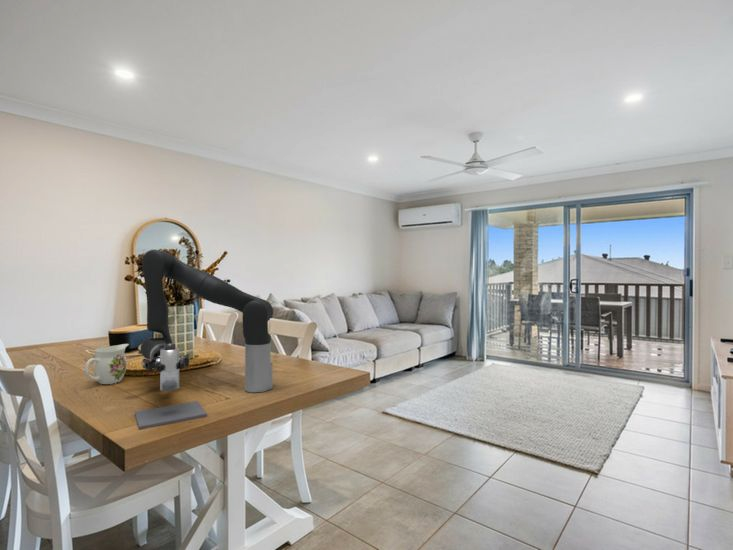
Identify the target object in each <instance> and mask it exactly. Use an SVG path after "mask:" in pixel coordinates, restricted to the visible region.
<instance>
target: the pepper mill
mask: <svg viewBox="0 0 733 550" xmlns="http://www.w3.org/2000/svg"><path fill="white" fill-rule="evenodd" d="M179 356H180V348H179V347H176V343H175V342H172V343H167V344H164V349H161V350H160V363H161V365H162V372H159V373H160V374H159V375H160V376H159V377H160V378H159V379H160V380H159V383H160V384H159V390H160V391H162V392H171V391H175V390H178V389H180V369H179Z"/></svg>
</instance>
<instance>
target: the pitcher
mask: <svg viewBox="0 0 733 550" xmlns="http://www.w3.org/2000/svg"><path fill="white" fill-rule="evenodd" d="M129 345H130V344H129V343H122V344H117V345H110V346H104V347H99V348H97V349H96V348H95V349H94V350H93V352H94V356H95V357H93V358H92V357H91V358H89V359H88V360H87V361H86V363H85V365H84V374H85V376H86V378H87V379H89V380H91V381H97V382H98V383H99V384H100V385H102V384H110V385H114V384H113V383H115V384H118V383H120V382H121V381H122V379H123V378H124V376H125V374H126V370H127V365H128V364H127V361H128V360H127V358H126V354H125V352H126V348H127V347H128V346H129ZM92 363H93V366H92V367H93V374H94V376H93V375H91V374H90V366H91V364H92ZM117 382H118V383H117Z"/></svg>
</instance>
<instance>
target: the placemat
mask: <svg viewBox="0 0 733 550" xmlns="http://www.w3.org/2000/svg"><path fill="white" fill-rule="evenodd" d="M134 415H135V420H136V422H137V426H138V430H143V429H149V428H148V427H150V428H154V427H159V426H164V425H169V424H174V423H180V422H184V421H190V420H195V419H199V418H205V417H208V412H207V411H205V409H204V408H203V406H202V405H201V404H200V403H199V400H194V401H189V402H183V403H177V404H172V405H165V406H161V407H154V408H149V409H142V410H136V411H135V412H134Z"/></svg>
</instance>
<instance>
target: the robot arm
mask: <svg viewBox="0 0 733 550" xmlns="http://www.w3.org/2000/svg"><path fill="white" fill-rule="evenodd" d="M141 266H142V274H143V280H144V286H145V287H144V288H145V296H146V313H147V314H146V329H147V331H149V332H153V333H159V334H161V337H151V338H150V337H149V338H146V339H144V340H143V341H142V342H141V345H140V352H141V355H142V356H143V358H142V361H141V362H142V365H141V366H142V368H143V369H144V370H147V371H148V372H149V371H150V372H151V371H153V369H154V370H155V371H156V372H158V373H160V372H162V365H161V363H160V350H161V349H164V344H167V343H173V339H172V338H171V337H172V336H171V334H170V328H169V307H168V305H169V304H168V301H167V299H166V296H165V295H166V294H165V291H164V285H163V279H164V278H163V277H165V278H168V279H171V280H173V281H174V282H177V283H179V284H182V285H183V286H184V287H185V288H186V289H188V290H189V291H190V292H191V293H192V294H194V295H196V296H197V297H199V298H202V299H203V300H206V301H207V302H210V303H212V304H217V305H220V306H223V307H227V308H231V309H234V310H236V311H239V312H240V313H242V317H241V318H242V334H243V335H242V336H243V338H244V390H245V391H246V392H247V393H263V392H267V391H270V390H272V389H273V388H274V387H273V384H274V383H273V381H274V379H273V378H274V376H273V373H274V372H273V370H274V368H273V366H274V365H273V363H272V362H271V361H272V359H271V358H272V354H271V348H272V347H271V346H272V345H271V343H272V342H271V335H270V333H269V330H268V329H269V326H268V322H269V321H270V320H271V319H272V317H273V314H274V309H273V306H272V304H271V303H270V302H269V301H267V300H265V299H264V298H261V297H259V296H255V295H252V294H249V293H246V292H244V291H242V289H241V290H240V289H239V288H237V287H236V286H234V285H232V284H231V283H229V282H227V281H225V280H222V279H221V278H219V277H217V276H216V275H213V274H211V273H209V272H206V271H203V270H201V269H198V268H197V267H192V266H190V265H189V264H187V263H185V262H184V261H182V260H180V259H178V258H177V257H175V256H174V255H173V254H171V253H169V252H166V251H163V250H158V249H150V250H148V251H147V252H145V253H144V255H143V256H142V260H141ZM189 365H190V354H185V355H183V356H180V355H179V371H180V370H183V369H184V368H186V367H189Z"/></svg>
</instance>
